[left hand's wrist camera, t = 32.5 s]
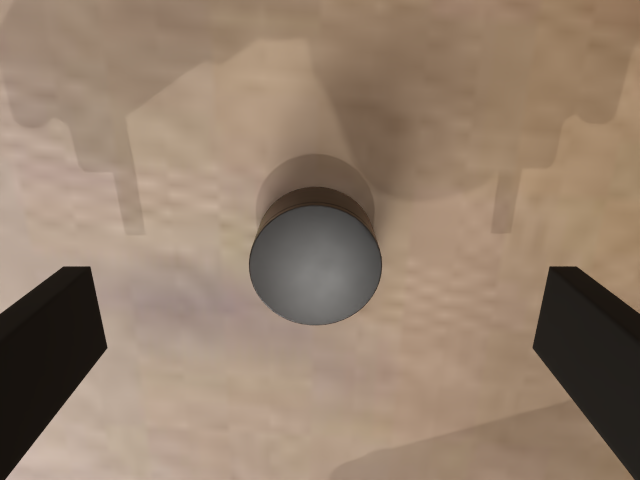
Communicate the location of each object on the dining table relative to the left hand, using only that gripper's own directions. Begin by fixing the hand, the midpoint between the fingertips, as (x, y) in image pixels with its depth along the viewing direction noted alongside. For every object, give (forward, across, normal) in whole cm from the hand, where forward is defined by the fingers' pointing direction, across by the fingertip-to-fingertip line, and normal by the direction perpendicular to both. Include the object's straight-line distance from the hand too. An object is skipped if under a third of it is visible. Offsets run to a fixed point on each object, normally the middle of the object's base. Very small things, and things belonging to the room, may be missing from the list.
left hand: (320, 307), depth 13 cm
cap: (+2, 0, 0) cm, 2 cm away
